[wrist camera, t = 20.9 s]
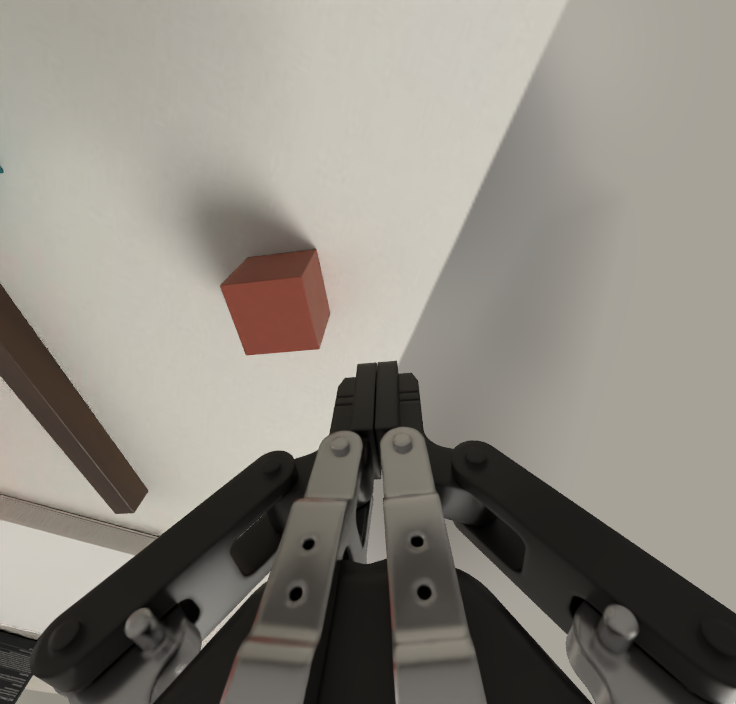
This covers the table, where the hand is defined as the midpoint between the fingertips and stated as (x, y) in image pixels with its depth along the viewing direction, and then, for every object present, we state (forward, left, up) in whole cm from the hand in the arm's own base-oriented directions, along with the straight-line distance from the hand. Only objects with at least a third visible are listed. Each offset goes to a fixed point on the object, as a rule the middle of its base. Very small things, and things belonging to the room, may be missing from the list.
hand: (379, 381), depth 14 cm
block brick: (+6, 0, -11) cm, 13 cm away
